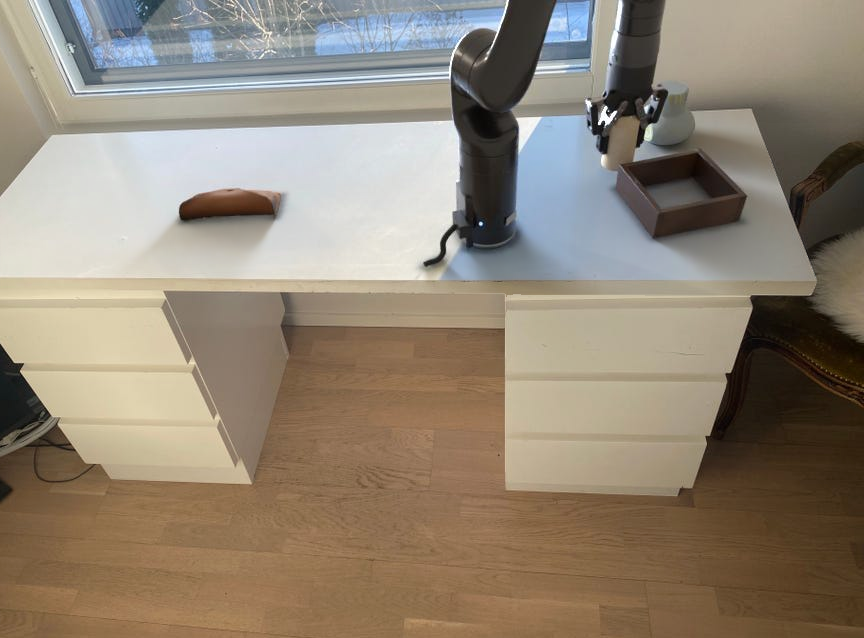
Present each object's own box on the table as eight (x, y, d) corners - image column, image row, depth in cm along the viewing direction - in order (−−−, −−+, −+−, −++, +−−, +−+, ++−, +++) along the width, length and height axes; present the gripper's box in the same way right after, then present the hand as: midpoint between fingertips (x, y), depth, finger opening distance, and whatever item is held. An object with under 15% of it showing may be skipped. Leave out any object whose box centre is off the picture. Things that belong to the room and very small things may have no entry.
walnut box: (652, 238, 118) (658, 213, 114) (615, 189, 128) (619, 164, 124) (739, 220, 118) (747, 195, 115) (695, 173, 129) (701, 148, 125)
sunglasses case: (282, 190, 137) (273, 174, 130) (281, 225, 135) (272, 210, 129) (190, 196, 139) (177, 180, 132) (189, 230, 137) (175, 216, 131)
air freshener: (629, 127, 141) (637, 78, 134) (669, 120, 142) (679, 70, 134) (653, 156, 134) (664, 105, 126) (696, 147, 134) (708, 97, 127)
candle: (633, 172, 128) (641, 120, 120) (600, 171, 129) (607, 120, 121) (632, 155, 131) (640, 104, 124) (600, 154, 132) (607, 104, 125)
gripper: (665, 38, 118) (647, 131, 131) (581, 53, 118) (572, 146, 130) (686, 57, 113) (666, 152, 126) (599, 73, 113) (588, 167, 125)
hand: (618, 148), depth 128 cm, fingers closed on candle, 5 cm apart
